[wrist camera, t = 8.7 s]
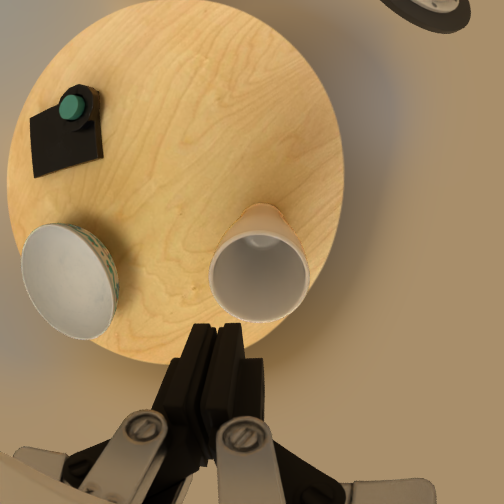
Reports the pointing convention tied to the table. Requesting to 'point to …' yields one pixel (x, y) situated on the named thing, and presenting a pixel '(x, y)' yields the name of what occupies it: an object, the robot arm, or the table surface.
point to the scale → (66, 135)
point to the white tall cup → (259, 267)
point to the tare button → (72, 107)
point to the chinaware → (70, 279)
